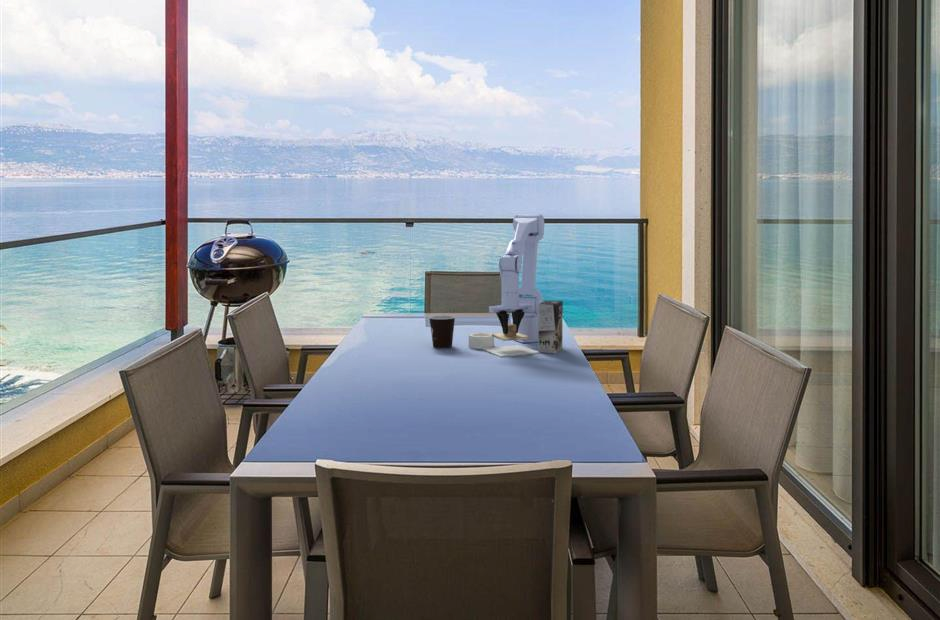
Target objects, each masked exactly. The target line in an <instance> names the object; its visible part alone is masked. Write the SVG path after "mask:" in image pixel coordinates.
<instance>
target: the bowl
mask: <svg viewBox="0 0 940 620" xmlns="http://www.w3.org/2000/svg"><path fill="white" fill-rule="evenodd" d="M492 334H493V333H490V332H473V333H469V334H468V347H469V348H471V349H477V350H482V348H492V347H495V337H492Z"/></svg>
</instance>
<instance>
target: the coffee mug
mask: <svg viewBox="0 0 940 620" xmlns="http://www.w3.org/2000/svg"><path fill="white" fill-rule="evenodd" d="M428 317H429V324H430V325H429V326H430V334H431V340H432V341H431V342H432V347H433V348H434V349H449V348H452V347H453V341H454V340H453V339H454V329H455V321H456V320H455V319H456V317H455V316H453V315H441V314H440V315H432V316H428Z"/></svg>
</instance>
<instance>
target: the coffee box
mask: <svg viewBox="0 0 940 620" xmlns="http://www.w3.org/2000/svg"><path fill="white" fill-rule="evenodd" d="M563 306H564V302H563V300H544V301H542V303H540V304H539V339H538V341H537V342H538V343H537V344H538V346H537V347H538V349H537V352H539V353H543V354H558V352H560V351H561V350H563V318H564V317H563V316H564V315H563V314H564V313H563V311H564V309H563V308H564V307H563Z"/></svg>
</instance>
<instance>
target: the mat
mask: <svg viewBox="0 0 940 620" xmlns="http://www.w3.org/2000/svg"><path fill="white" fill-rule="evenodd" d="M481 350H482V351H484V352H488V354H492V355H493V356H497V357H499V358H506V357H516V356H517V357H518V356H524V355H525V356H527V355H537V354H540V352H538V350H534V349H532V348H529V347H526V346H524V345H521V344H516V345H515V344H514V345H504V346H494V347H492V348H482V349H481Z"/></svg>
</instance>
